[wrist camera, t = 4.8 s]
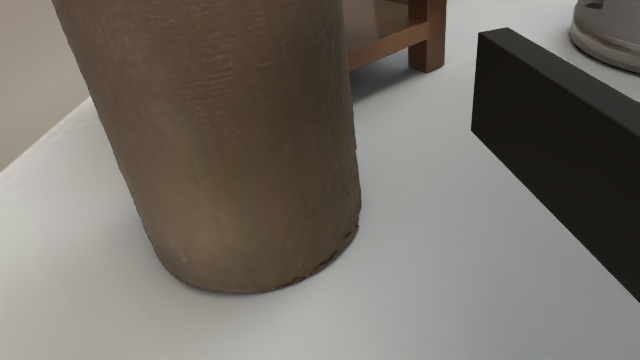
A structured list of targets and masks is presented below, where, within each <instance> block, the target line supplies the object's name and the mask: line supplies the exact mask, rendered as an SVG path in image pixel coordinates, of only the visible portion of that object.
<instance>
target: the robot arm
mask: <svg viewBox="0 0 640 360" xmlns="http://www.w3.org/2000/svg"><path fill="white" fill-rule="evenodd" d="M570 35H571V38H572V40H573V42H574V43H575V44H576V45H577V46H578V47H579V48H580V49H581V50H583V51H584V52H586V53H587V54H589V55H591V56H593V57H595V58H597V59H599V60H601V61H603V62H606V63H608V64H611V65H614V66H617V67H620V68H623V69H626V70H630V71H634V72H637V73H640V0H578V2H577V4H576V6H575V9H574V14H573V19H572V25H571V30H570ZM471 131H472V132H473V133H474V134H475V135H476V136H477V137H478V138H479V139H480V140H481V141H482V142H483V143H484V144H485V145H486V146H487V147H488V149H489V150H490V151H491V152H492V153H493V154H494V155H495V156H496V157H497V158H498V159H499V160H500V161H501V162H502V163H503V164H504V165H505V166H506V167H507V168H508V169H509V170H510V171H511V172H512V173H513V174H514V175H515V176H516V177H517V178H518V179H519V180H520V181H521V182H522V183H523V184H524V185H525V186H526V187H527V188H528V189H529V190H530V191H531V192H532V193H533V194H534V195H535V196H536V198H537V199H538V200H539V201H540V202H541V203H542V204H543V205H544V206H545V207H546V208H547V209H548V210H549V211H550V212H551V213H552V214H553V215H554V216H555V217H556V218H557V219H558V220H559V221H560V222H561V223H562V224H563V225H564V226H565V227H566V228H567V229H568V230H569V231H570V232H571V233H572V234H573V235H574V236H575V237H576V238H577V239H578V240H579V241H580V242H581V243H582V244H583V245H584V246H585V248H586V249H587V250H588V251H589V252H590V253H591V254H592V255H593V256H594V257H595V258H596V259H597V260H598V261H599V262H600V263H601V264H602V265H603V266H604V267H605V268H606V269H607V270H608V271H609V272H610V273H611V274H612V275H613V276H614V277H615V278H616V279H617V280H618V281H619V282H620V283H621V284H622V285H623V286H624V287H625V288H626V289H627V290H628V291H629V292H630V293H631V294H632V295H633V296H634V298H635V299H636V300H637V301H638V302H639V303H640V102H636V101H634V100H633V99H631V98H629V97H627V96H626V95H624V94H622V93H621V92H619V91H617V90H615V89H614V88H612V87H610V86H608V85H607V84H605V83H603V82H601V81H600V80H598V79H596V78H595V77H593V76H591V75H589V74H588V73H586V72H584V71H582V70H581V69H579V68H577V67H575V66H574V65H572V64H570V63H568V62H567V61H565V60H563V59H562V58H560V57H558V56H556V55H555V54H553V53H551V52H549V51H548V50H546V49H544V48H542V47H541V46H539V45H537V44H536V43H534V42H532V41H530V40H529V39H527V38H525V37H523V36H522V35H520V34H518V33H516V32H515V31H513V30H511V29H509V28H508V27H507V28H501V29H496V30H491V31H485V32H480V33H478V46H477V58H476V71H475V84H474V97H473V110H472V123H471Z"/></svg>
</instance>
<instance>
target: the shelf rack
mask: <svg viewBox="0 0 640 360" xmlns="http://www.w3.org/2000/svg"><path fill="white" fill-rule="evenodd" d="M342 1H343V15H344V23H345V34H346V44H347V56H348V65H349V72H350V71H352V70H354V69H357V68H359V67H362V66H364V65H366V64H369V63H371V62H373V61H376V60H378V59H381V58H383V57H385V56H388V55H390V54H393V53H395V52H397V51H400V50H402V49H405V48H407V47H408V66H409V67H411V68H414V69H417V70H420V71H423V72H425V73H428V72H430V71H432V70H434V69H436V68H439V67H441V66H443V65H444V55H445V31H446V3H447V0H408V5H405V4H400V3H396V2H392V1H387V0H342Z"/></svg>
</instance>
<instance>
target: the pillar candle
mask: <svg viewBox="0 0 640 360" xmlns="http://www.w3.org/2000/svg"><path fill="white" fill-rule="evenodd" d="M52 3H53V5H54V8H55V10H56V13H57V16H58V18H59V20H60V23H61V26H62V29H63V31H64V33H65V35H66V37H67V40H68V44H69V46H70V47H71V50H72V52H73V54H74V56H75V58H76V61H77V64H78V66H79V69H80V72H81V73H82V76H83V78H84V80H85V82H86V84H87V86H88V90H89V92H90V95H91V98H92V100H93V103H94V105H95V108H96V110H97V113H98V116H99V119H100V121H101V123H102V125H103V127H104V129H105V132H106V135H107V137H108V139H109V142H110V144H111V147H112V149H113V152H114V156H115V158H116V160H117V163H118V166H119V169H120V171H121V173H122V175H123V177H124V179H125V181H126V183H127V186H128V188H129V190H130V193H131V196H132V198H133V200H134V204H135V206H136V209H137V211H138V214H139V216H140V218H141V220H142V223H143V227H144V229H145V231H146V233H147V235H148V238H149V240H150V241H151V244H152V246H153V248H154V251H155V252H156V254H157V256H158V258H159V259H160V261H161V263H162V264H163V265H164V267H165V268H166V269H167V270H168V271H169V272H170V273H171V274H173V275H174V276H175V277H177V278H178V279H180V280H181V281H183V282H185V283H187V284H189V285H194V286H196V287H199V288H202V289H208V290H216V291H223V292H241V293H247V292H261V291H267V290H271V289H273V288H280V287H283V286H286V285H289V284H291V283H293V282H296V281H298V280H302V279H304V278H305V277H306V276H307V275H312V274H313V273H314V272H317V271H318V270H319V269H321V268H323V267H324V266H325V265H327V264H328V263H330V262H331V261H332V260H334V259H335V258H336V256H337V255H338V254H339V253H340V252H342V250H343V248H345V247H346V246H347V245H348V244H349V243H350V242H351V240H352V239H353V237H354V236H355V234H356V233H357V230H358V228H359V226H358V219H359V217H358V215H359V211H360V210H361V189H360V183H359V172H358V164H357V157H356V148H357V146H356V138H355V129H354V118H353V117H354V115H353V109H352V107H353V101H352V96H351V87H350V73H349V65H348V56H347V44H346V34H345V23H344V15H343V1H342V0H52Z"/></svg>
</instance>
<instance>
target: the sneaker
mask: <svg viewBox="0 0 640 360" xmlns="http://www.w3.org/2000/svg"><path fill="white" fill-rule="evenodd" d="M387 1H392V2H396V3H400V4H405V5H408V0H387Z"/></svg>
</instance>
